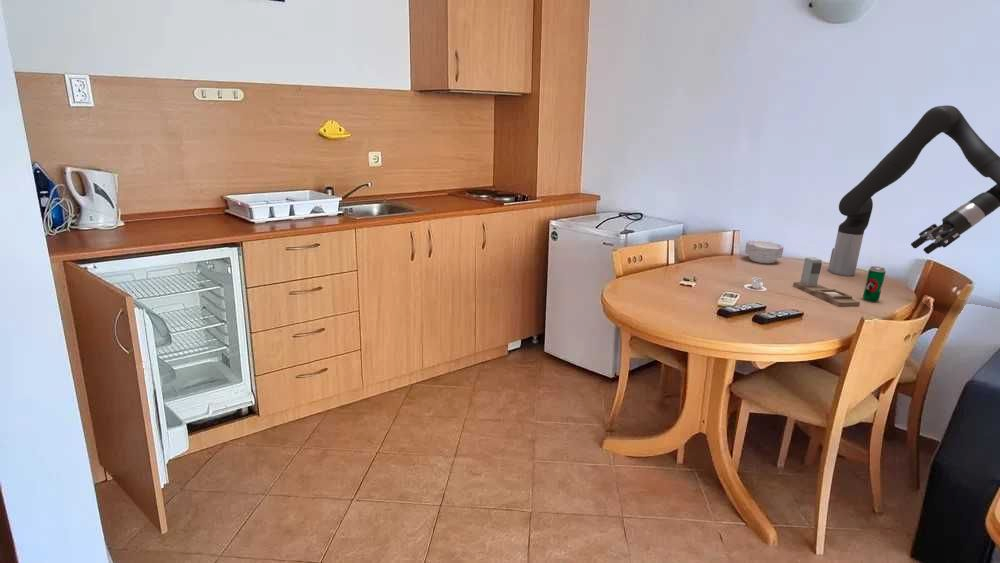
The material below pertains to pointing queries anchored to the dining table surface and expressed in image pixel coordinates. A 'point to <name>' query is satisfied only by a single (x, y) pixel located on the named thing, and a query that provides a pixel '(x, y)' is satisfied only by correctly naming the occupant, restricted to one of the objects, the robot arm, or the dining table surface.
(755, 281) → the teacup and saucer
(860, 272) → the dining table surface
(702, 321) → the dining table surface
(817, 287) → the brown flat tray
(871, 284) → the soda can
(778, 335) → the dining table surface
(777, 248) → the paper bowls
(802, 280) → the grey post
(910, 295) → the dining table surface
